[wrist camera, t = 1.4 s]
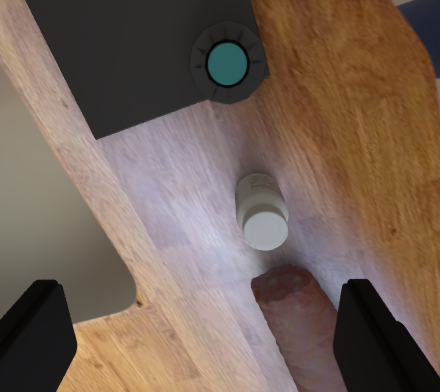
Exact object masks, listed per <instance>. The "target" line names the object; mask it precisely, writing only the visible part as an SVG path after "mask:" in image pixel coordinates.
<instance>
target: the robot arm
mask: <svg viewBox="0 0 440 392" xmlns="http://www.w3.org/2000/svg"><path fill="white" fill-rule="evenodd" d="M76 351H77V340H76V336H75V332H74V329H73V325H72V321H71V317H70V313H69V309H68V306H67V301H66V298H65V294H64V290H63V287H62V285H61V284H58V282H57V281H56V280H36V281H35V282H33V284H32V285H31V286H30V287H29V288H28V289H27V291H25V292H24V294H23V295H22V296H21V297H20V298H19V299H18V300H17V301H16V303H15V304H14V305H13V306H12V307H11V308H10V309H9V311H8V312H7V313H6V314H5V315H4V316H3V317H2V319H0V392H56V391H57V389H58V387H59V385H60V383H61V381H62V379H63V377H64V375H65V374H66V372H67V370H68V368H69V366H70V364H71V362H72V360H73V358H74V356H75V354H76ZM333 353H334V357H335V359H336V362H337V365H338V367H339V370H340V373H341V375H342V378H343V381H344V384H345V386H346V389H347V392H440V377H439V375H438V374H437V373H436V371H435V370H434V368H433V367H432V365H431V364H430V362H429V361H428V359H427V358H426V356H425V355H424V354H423V352H422V351H421V349H420V348H419V346H418V345H417V343H416V342H415V340H414V339H413V338H412V336H411V335H410V333H409V332H408V330H407V329H406V327H405V326H404V325H403V324H402V323H401V322H399V321H396V320H395V318H394V317H393V315H392V314H391V312H390V311H389V309H388V308H387V306H386V305H385V303H384V302H383V300H382V299H381V297H380V296H379V294H378V293H377V291H376V290H375V288H374V287H373V285H372V284H371V282H370V281H369V280H368V279H349V280H348V282H347V283H345V284H343V285H342V289H341V295H340V301H339V308H338V314H337V320H336V326H335V332H334V338H333Z"/></svg>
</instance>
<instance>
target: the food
mask: <svg viewBox="0 0 440 392" xmlns="http://www.w3.org/2000/svg"><path fill="white" fill-rule="evenodd" d="M251 289H252V291H253V294H254V297H255V300H256V302H257V303H258V304H259V307H260V309H261V311H262V313H263V315H264V317H265V320H266V321H267V324H268V326H269V328H270V330H271V332H272V334H273V335H274V337H275V339H276V343H277V345H278V347H279V350H280V352H281V354H282V356H283V357H284V360H285V363H286V365H287V367H288V369H289V372H290V374H291V376H292V377H293V380H294V382H295V384H296V387H297V389H298V392H347V389H346V386H345V384H344V381H343V378H342V375H341V373H340V370H339V367H338V365H337V362H336V359H335V357H334V353H333V338H334V332H335V326H336V320H337V314H338V312H337V310H336V309H335V307H334V305H333V304H332V302H331V301H330V299H329V298H328V297H327V295H326V294H325V292H324V291H323V290H322V289H321V287H320V285H319V283H318V282H317V280H316V279H315V278H314V276H313V275H312V274H311V273H310V272H309V271H308V270H307V269H305V268H302V267H299V266H292V265H291V264H286V265H283V266H279V267H275V268H272V269H270V270H269V271H267V272H266V273H264V274H262V275H260V276H258V277H256V278H253V279H252V281H251Z"/></svg>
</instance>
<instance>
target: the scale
mask: <svg viewBox="0 0 440 392" xmlns="http://www.w3.org/2000/svg"><path fill="white" fill-rule="evenodd" d="M25 1H26V3H27V5H28V7H29V9H30V11H31V13H32V15H33V16H34V18H35V20H36V22H37V24H38V26H39V28H40V30H41V32H42V34H43V36H44V38H45V40H46V42H47V44H48V46H49V48H50V50H51V52H52V54H53V56H54V58H55V60H56V62H57V64H58V66H59V68H60V70H61V72H62V74H63V76H64V78H65V80H66V82H67V84H68V86H69V88H70V90H71V92H72V94H73V96H74V98H75V100H76V102H77V104H78V106H79V108H80V110H81V112H82V114H83V116H84V118H85V120H86V122H87V124H88V126H89V128H90V130H91V132H92V134H93V136H94V137H95V139H96V140H97V139H100V138H103V137H105V136H108V135H111V134H114V133H116V132H119V131H122V130H125V129H127V128H130V127H133V126H136V125H138V124H141V123H144V122H147V121H149V120H152V119H155V118H157V117H160V116H163V115H166V114H168V113H171V112H174V111H177V110H179V109H182V108H185V107H188V106H190V105H193V104H196V103H199V102H201V101H204V100H207V99H209V100H211V101H214V102H219V103H224V104H233V103H236V102H239V101H242V100H244V99H247V98H249V97H250V96H251V94H252V93H253V92H254V91H255V90H256V89H257V87H258V86H259V85H260V84H261V82H262V80H263V79H264V78H267V77H270V73H269V69H268V65H267V62H266V57H265V53H264V49H263V45H262V42H261V40H260V36H259V32H258V28H257V25H256V21H255V17H254V14H253V10H252V6H251V3H250V0H25ZM222 43H233V44H235V45H237V46H239V47H240V48H241V49H242V50H243V52H244V54H245V56H246V60H247V67H246V71H245V74H244V75H243V77H242V78H241V79H240V80H239V81H238V82H236V83H234V84H231V85H224V84H220V83H218V82H217V81H215V80H214V79H213V77H212V76H211V74H210V72H209V69H208V59H209V56H210V54H211V52H212V50H213V49H214V48H215V47H216V46H218V45H220V44H222Z"/></svg>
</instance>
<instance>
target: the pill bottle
mask: <svg viewBox="0 0 440 392" xmlns="http://www.w3.org/2000/svg"><path fill="white" fill-rule="evenodd" d="M235 206H236V220H237V223H238V226H239V227H240V229H241V230H242V231H243V236H244V239H245V240H246V242H247V243H248V244H249V245H250V246H251V247H253V248H255V249H257V250H262V251H267V250H272V249H275V248H277V247H279V246H280V245H281V244H282V243H283V242H284V241H285V239H286V237H287V235H288V225H287V222H288V218H289V211H288V207H287V204H286V202H285V200H284V197H283V195H282V193H281V190H280V188H279V186H278V184H277V182H276V181H275V180H274V179H273V178H272V177H271V176H269V175H267V174H263V173H252V174H249V175H247V176H245V177H244V178H243V179H242V180H241V181H240V182H239V183H238V185H237V187H236V190H235Z"/></svg>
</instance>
